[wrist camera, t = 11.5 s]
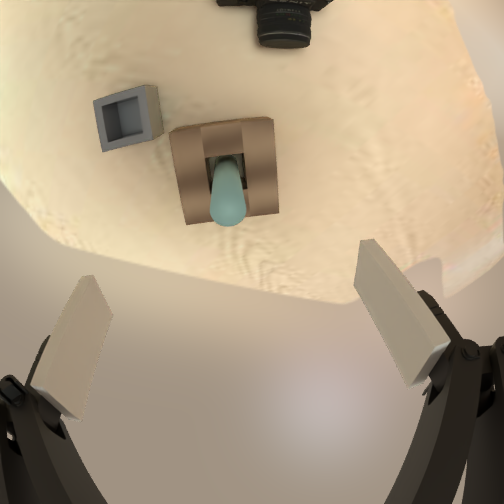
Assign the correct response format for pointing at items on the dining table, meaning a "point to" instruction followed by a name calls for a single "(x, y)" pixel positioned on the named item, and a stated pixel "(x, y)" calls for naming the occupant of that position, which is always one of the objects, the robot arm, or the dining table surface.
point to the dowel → (227, 192)
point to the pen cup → (128, 117)
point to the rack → (225, 143)
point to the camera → (282, 20)
